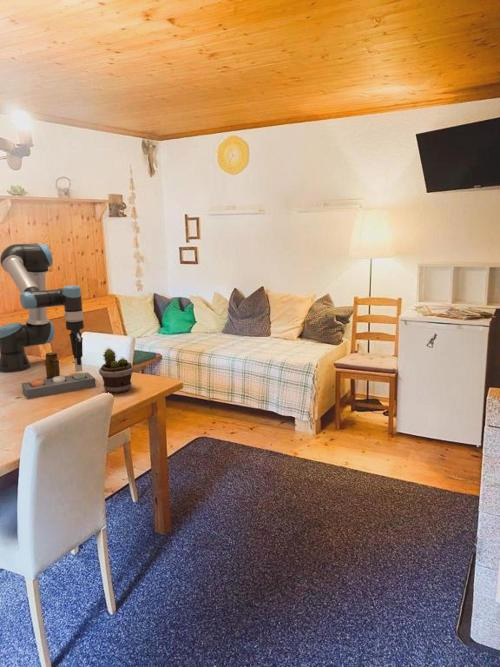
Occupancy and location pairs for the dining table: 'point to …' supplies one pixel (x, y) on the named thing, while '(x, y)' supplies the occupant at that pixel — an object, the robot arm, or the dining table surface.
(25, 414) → the dining table surface
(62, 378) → the button white
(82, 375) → the button sage
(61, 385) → the console
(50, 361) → the condiment
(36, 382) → the button rust
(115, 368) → the flowerpot
